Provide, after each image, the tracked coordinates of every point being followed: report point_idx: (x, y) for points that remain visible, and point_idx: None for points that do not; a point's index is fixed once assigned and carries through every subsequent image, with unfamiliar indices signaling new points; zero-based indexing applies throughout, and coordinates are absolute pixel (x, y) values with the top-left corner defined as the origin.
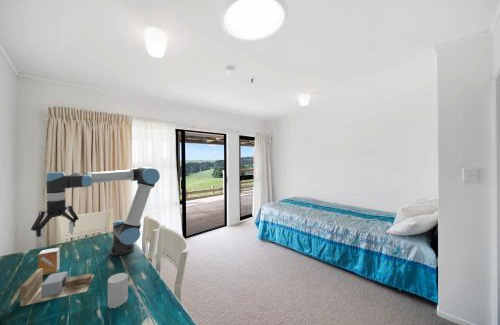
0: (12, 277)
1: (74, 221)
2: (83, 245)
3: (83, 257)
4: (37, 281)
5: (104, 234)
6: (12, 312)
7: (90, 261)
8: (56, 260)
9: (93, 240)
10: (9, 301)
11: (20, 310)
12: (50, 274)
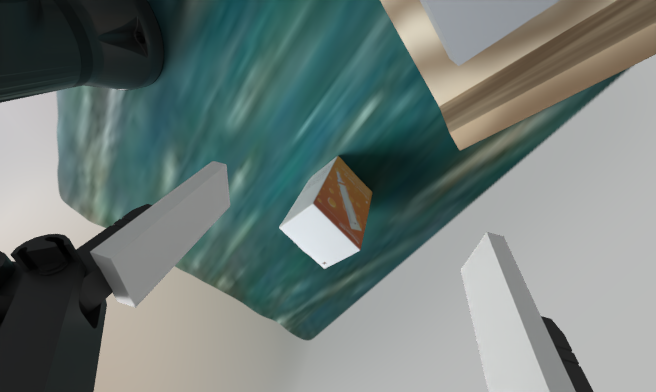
0: (387, 255)
1: (66, 252)
2: None
3: (232, 158)
4: (506, 84)
5: None
6: None
7: (238, 99)
8: (326, 179)
9: None
10: (535, 133)
11: None
12: (460, 63)
